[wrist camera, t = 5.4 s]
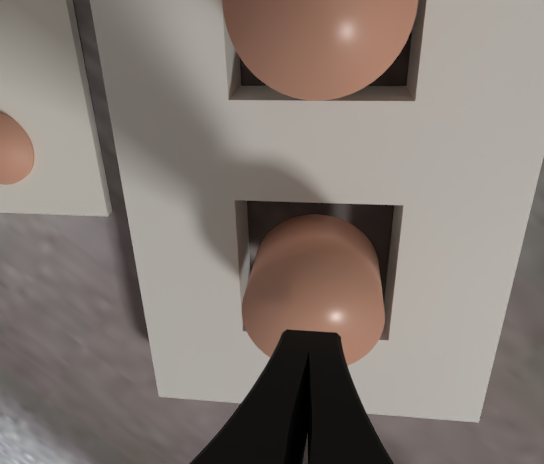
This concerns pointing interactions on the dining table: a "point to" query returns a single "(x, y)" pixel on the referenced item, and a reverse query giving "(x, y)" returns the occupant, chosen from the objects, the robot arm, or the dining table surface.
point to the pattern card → (47, 115)
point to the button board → (329, 190)
